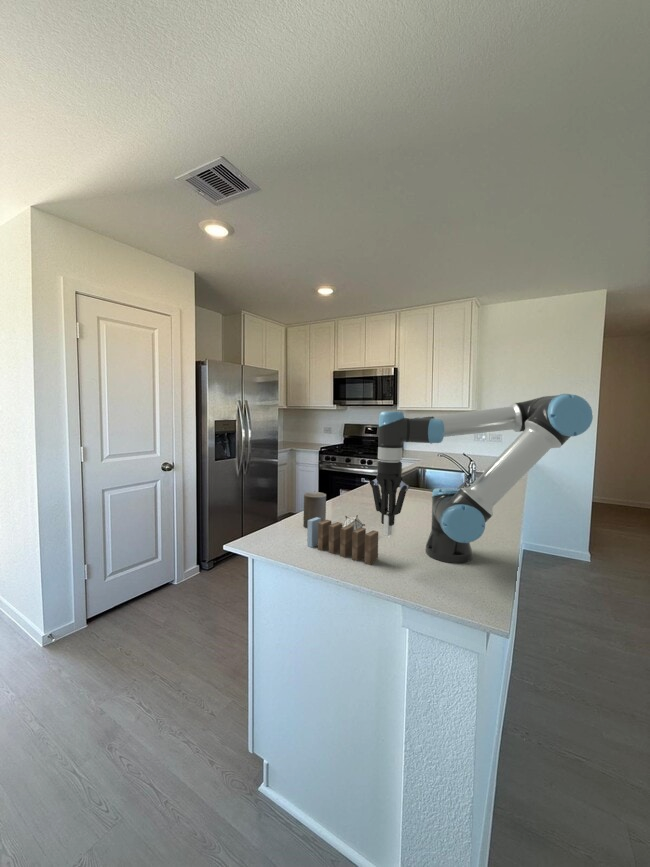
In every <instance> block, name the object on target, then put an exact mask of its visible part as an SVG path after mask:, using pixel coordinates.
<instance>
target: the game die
mask: <svg viewBox="0 0 650 867" xmlns="http://www.w3.org/2000/svg"><path fill="white" fill-rule="evenodd" d="M344 516H345V521H344V523H343V524H342V528H343V527H345V526H347V525H352V526H354V530H356V529H358V528H360V527H361V528H364V526H366V524H364V523H362V522H361V521H360V519H359V517H358V514H357V515H356V516H352V517H351V516H349V517H348V516H347V515H344Z"/></svg>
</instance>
